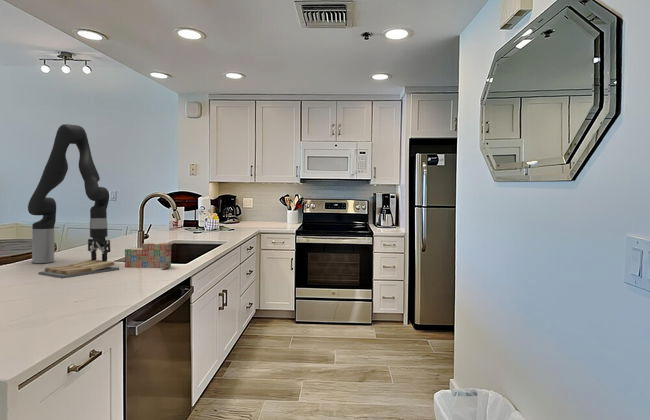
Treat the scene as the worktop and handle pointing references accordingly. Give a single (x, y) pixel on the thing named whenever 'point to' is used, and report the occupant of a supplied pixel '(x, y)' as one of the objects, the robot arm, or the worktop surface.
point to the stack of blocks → (149, 256)
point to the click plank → (93, 264)
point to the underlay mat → (78, 273)
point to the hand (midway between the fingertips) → (99, 260)
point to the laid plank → (68, 269)
